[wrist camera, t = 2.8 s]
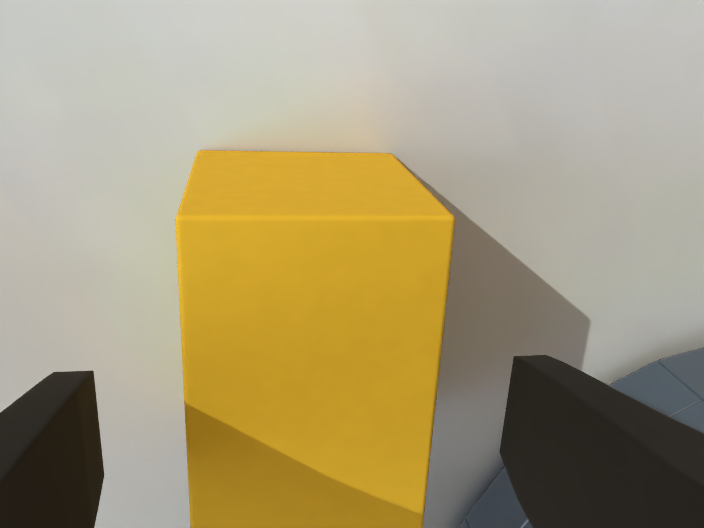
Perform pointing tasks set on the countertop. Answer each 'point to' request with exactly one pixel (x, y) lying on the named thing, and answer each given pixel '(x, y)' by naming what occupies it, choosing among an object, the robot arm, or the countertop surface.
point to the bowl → (642, 385)
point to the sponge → (310, 338)
